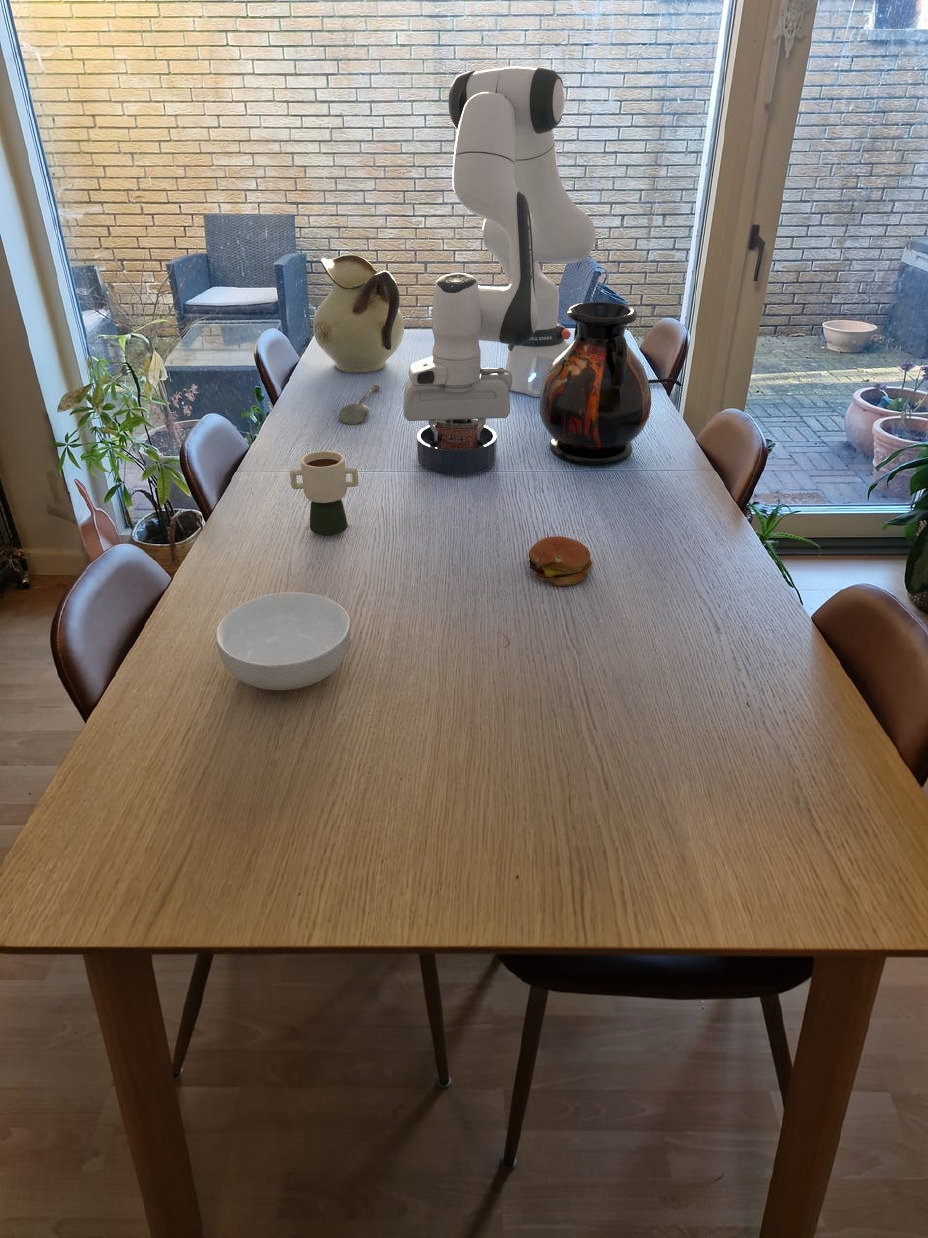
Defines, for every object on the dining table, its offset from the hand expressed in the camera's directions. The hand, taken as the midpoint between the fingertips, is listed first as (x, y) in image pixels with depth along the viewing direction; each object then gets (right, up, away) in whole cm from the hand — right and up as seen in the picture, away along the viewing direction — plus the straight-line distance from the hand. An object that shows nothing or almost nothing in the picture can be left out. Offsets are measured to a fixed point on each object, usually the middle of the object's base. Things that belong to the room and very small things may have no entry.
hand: (456, 440), depth 171 cm
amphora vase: (+27, -2, +6) cm, 27 cm away
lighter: (0, -3, +2) cm, 4 cm away
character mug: (-21, -20, -22) cm, 37 cm away
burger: (+16, -27, -33) cm, 46 cm away
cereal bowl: (-21, -41, -55) cm, 72 cm away
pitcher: (-24, +29, +54) cm, 66 cm away
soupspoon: (-21, +13, +29) cm, 38 cm away
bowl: (0, -4, +2) cm, 5 cm away
